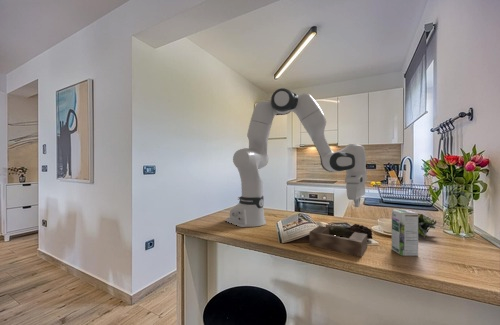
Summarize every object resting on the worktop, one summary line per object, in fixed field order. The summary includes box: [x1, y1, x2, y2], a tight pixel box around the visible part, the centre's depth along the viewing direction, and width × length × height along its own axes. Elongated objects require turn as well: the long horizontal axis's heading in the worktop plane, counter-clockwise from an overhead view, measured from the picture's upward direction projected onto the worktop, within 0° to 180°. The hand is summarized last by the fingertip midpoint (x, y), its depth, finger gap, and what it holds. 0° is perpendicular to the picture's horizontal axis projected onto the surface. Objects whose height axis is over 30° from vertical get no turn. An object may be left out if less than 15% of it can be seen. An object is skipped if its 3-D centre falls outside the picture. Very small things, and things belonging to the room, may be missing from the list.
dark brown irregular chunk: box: [325, 223, 373, 240], centre depth 91 cm, size 18×7×6 cm, turn 62°
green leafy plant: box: [417, 212, 437, 240], centre depth 91 cm, size 11×11×12 cm
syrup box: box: [391, 208, 419, 257], centre depth 75 cm, size 6×6×14 cm
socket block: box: [308, 225, 368, 258], centre depth 81 cm, size 18×10×5 cm, turn 52°
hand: (357, 206), depth 104 cm, fingers closed
